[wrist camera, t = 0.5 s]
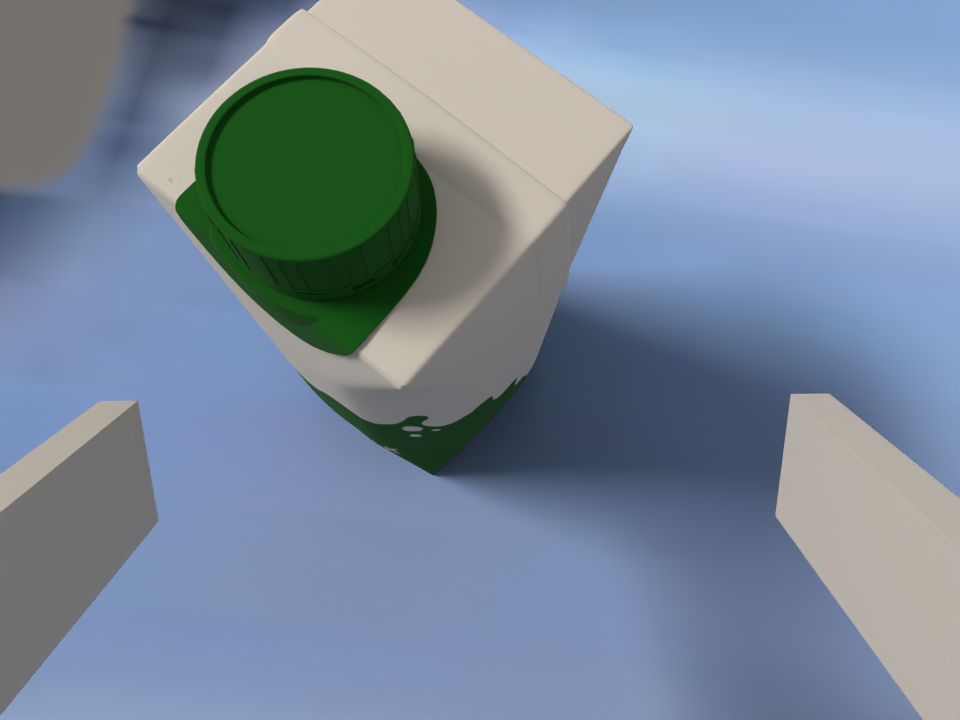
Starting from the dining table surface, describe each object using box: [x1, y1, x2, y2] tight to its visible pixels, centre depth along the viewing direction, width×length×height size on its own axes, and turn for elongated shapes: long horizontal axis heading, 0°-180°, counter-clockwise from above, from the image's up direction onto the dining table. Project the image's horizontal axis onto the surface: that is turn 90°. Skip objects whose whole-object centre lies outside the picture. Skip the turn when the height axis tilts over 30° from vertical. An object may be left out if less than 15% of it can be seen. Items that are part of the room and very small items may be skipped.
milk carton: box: [137, 0, 633, 475], centre depth 23 cm, size 9×9×20 cm
